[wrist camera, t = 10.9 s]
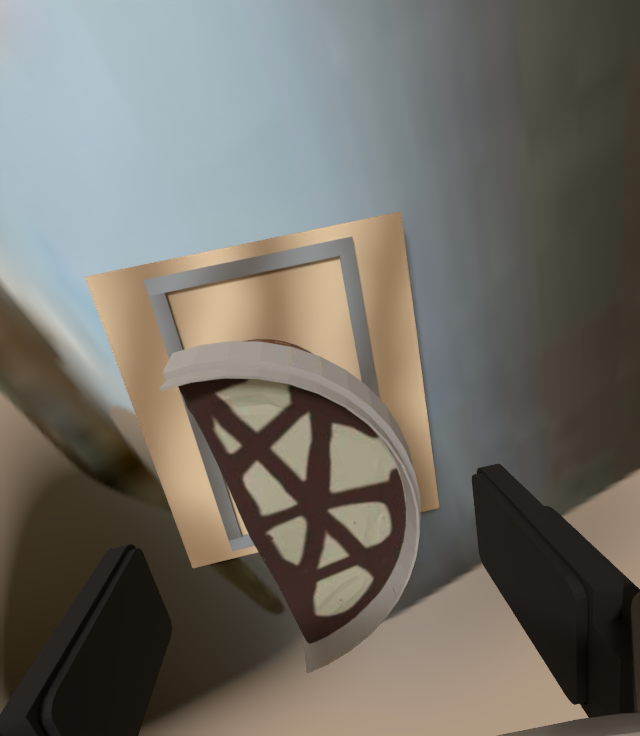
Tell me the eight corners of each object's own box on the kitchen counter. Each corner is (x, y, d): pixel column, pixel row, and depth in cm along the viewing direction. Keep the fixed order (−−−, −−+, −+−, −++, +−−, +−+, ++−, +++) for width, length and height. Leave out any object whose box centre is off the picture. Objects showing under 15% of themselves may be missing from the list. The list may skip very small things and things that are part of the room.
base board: (392, 215, 20) (402, 210, 19) (430, 494, 25) (440, 510, 23) (99, 276, 19) (82, 277, 18) (198, 550, 24) (192, 570, 23)
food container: (392, 472, 23) (475, 621, 13) (299, 507, 23) (312, 683, 13) (326, 277, 19) (371, 287, 10) (215, 319, 19) (149, 370, 10)
